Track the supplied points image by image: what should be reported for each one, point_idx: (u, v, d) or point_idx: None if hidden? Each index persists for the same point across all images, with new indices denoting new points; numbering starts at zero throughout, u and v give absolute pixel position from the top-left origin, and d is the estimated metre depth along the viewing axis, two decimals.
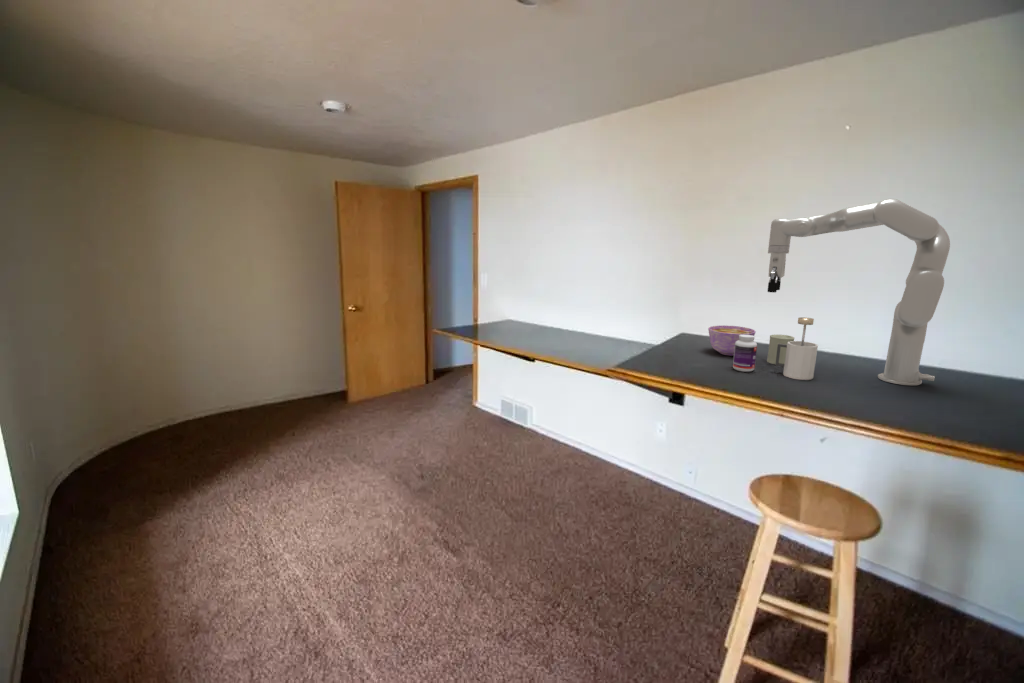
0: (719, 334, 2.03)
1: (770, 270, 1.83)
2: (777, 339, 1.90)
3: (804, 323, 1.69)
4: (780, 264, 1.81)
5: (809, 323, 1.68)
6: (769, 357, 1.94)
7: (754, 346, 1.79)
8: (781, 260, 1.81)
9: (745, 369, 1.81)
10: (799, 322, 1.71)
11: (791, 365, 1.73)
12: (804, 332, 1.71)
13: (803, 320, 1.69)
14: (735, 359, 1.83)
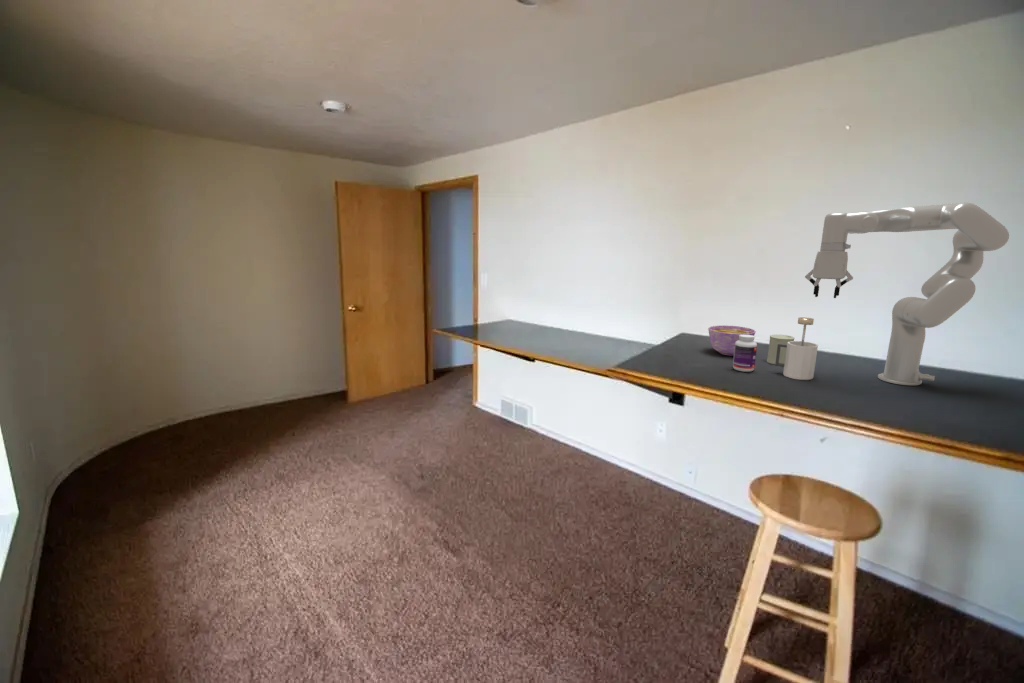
0: (719, 334, 2.03)
1: (845, 271, 1.62)
2: (777, 339, 1.90)
3: (804, 323, 1.69)
4: None
5: (809, 323, 1.68)
6: (769, 357, 1.94)
7: (754, 346, 1.79)
8: None
9: (745, 369, 1.81)
10: (799, 322, 1.71)
11: (791, 365, 1.73)
12: (804, 332, 1.71)
13: (803, 320, 1.69)
14: (735, 359, 1.83)
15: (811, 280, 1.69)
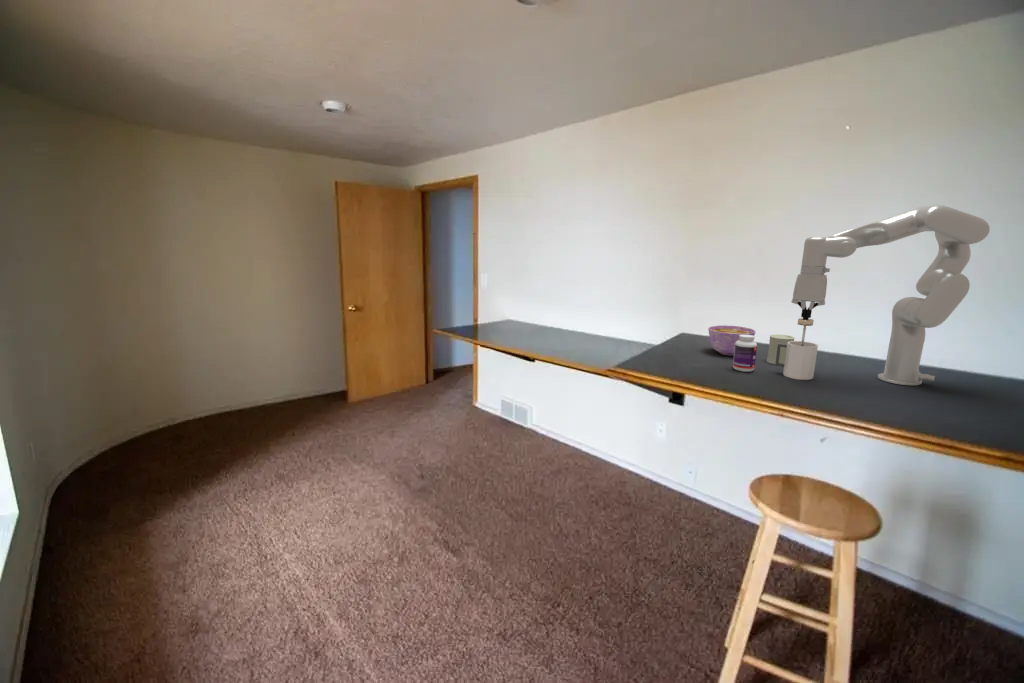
0: (719, 334, 2.03)
1: (824, 294, 1.64)
2: (777, 339, 1.90)
3: (804, 324, 1.69)
4: None
5: (809, 324, 1.68)
6: (769, 357, 1.94)
7: (754, 346, 1.79)
8: None
9: (745, 369, 1.81)
10: (799, 323, 1.71)
11: (791, 365, 1.73)
12: (804, 333, 1.71)
13: (803, 321, 1.69)
14: (735, 359, 1.83)
15: (799, 303, 1.70)
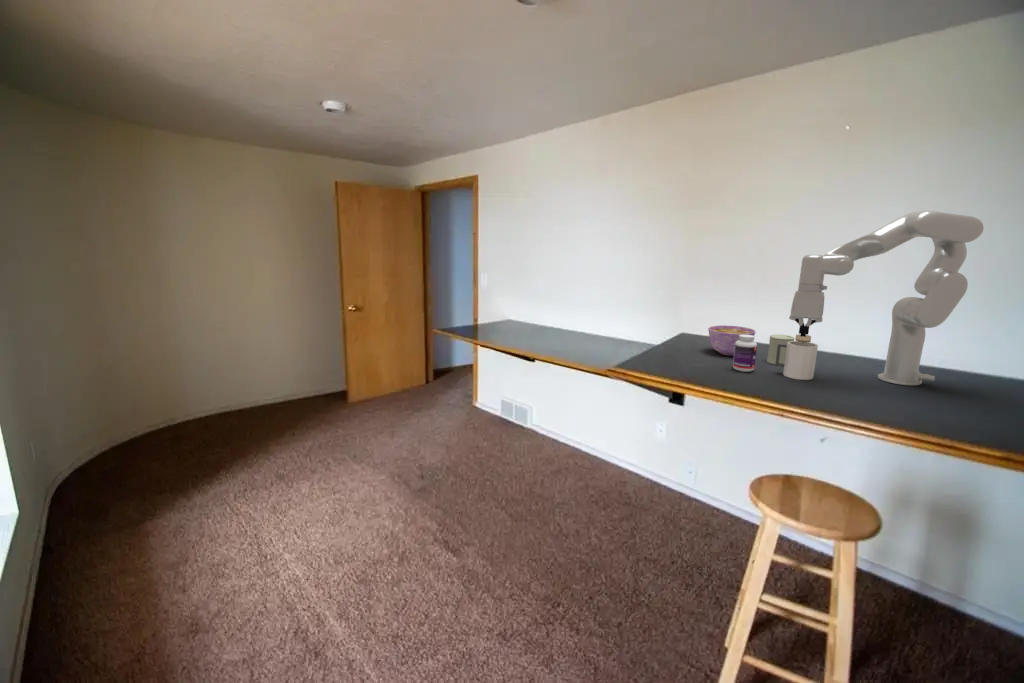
0: (719, 334, 2.03)
1: (822, 311, 1.66)
2: (777, 339, 1.90)
3: (802, 340, 1.70)
4: None
5: (807, 340, 1.70)
6: (769, 357, 1.94)
7: (754, 346, 1.79)
8: None
9: (745, 369, 1.81)
10: (797, 339, 1.72)
11: (791, 365, 1.73)
12: None
13: (801, 337, 1.71)
14: (735, 359, 1.83)
15: (797, 319, 1.72)
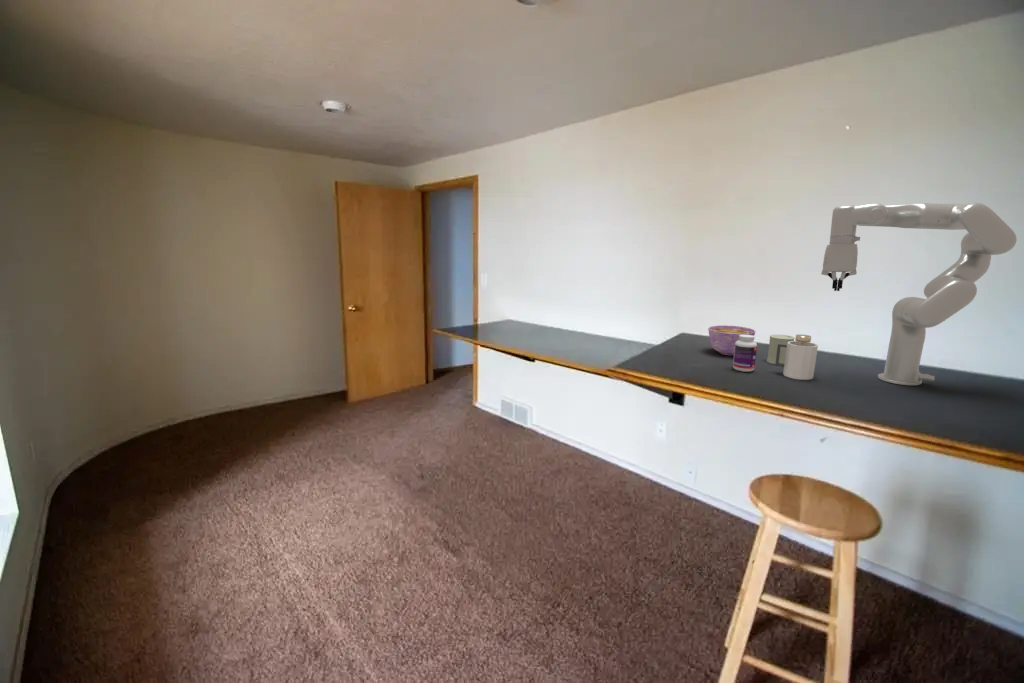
0: (719, 334, 2.03)
1: (856, 263, 1.62)
2: (777, 339, 1.90)
3: (802, 340, 1.70)
4: None
5: (807, 341, 1.70)
6: (769, 357, 1.94)
7: (754, 346, 1.79)
8: None
9: (745, 369, 1.81)
10: (797, 339, 1.72)
11: (791, 365, 1.73)
12: None
13: (801, 337, 1.71)
14: (735, 359, 1.83)
15: (829, 274, 1.68)
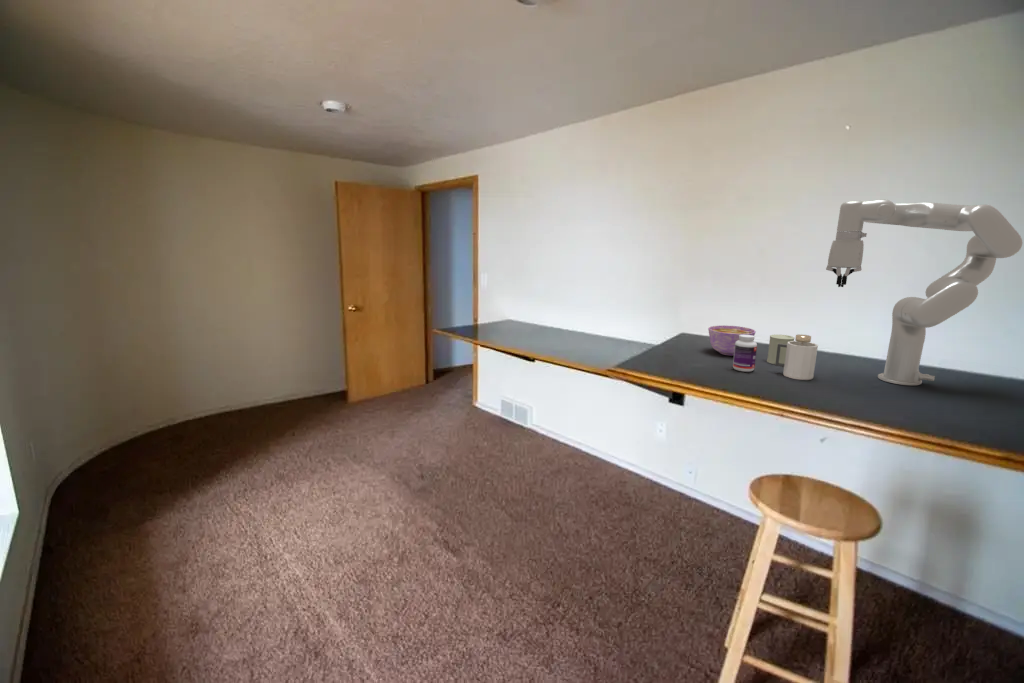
0: (719, 334, 2.03)
1: (861, 259, 1.61)
2: (777, 339, 1.90)
3: (802, 340, 1.70)
4: None
5: (807, 341, 1.70)
6: (769, 357, 1.94)
7: (754, 346, 1.79)
8: None
9: (745, 369, 1.81)
10: (797, 339, 1.72)
11: (791, 365, 1.73)
12: None
13: (801, 337, 1.71)
14: (735, 359, 1.83)
15: (834, 270, 1.67)
